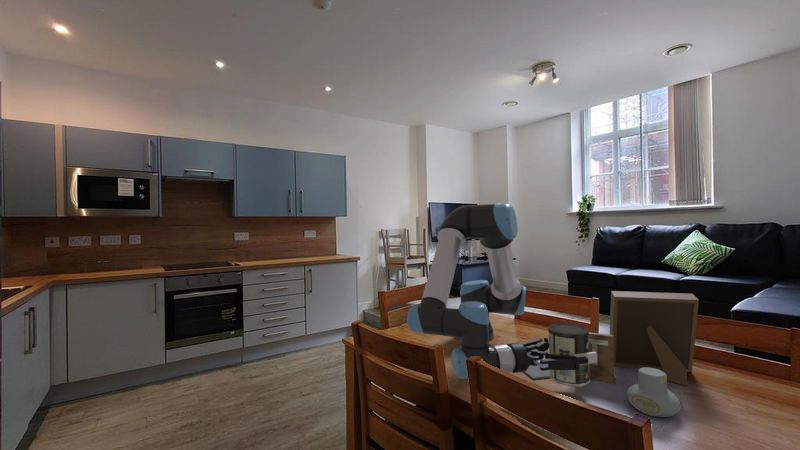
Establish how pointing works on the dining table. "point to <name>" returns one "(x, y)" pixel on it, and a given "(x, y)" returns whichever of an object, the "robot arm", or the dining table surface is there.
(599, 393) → the dining table surface
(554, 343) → the coffee can
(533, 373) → the grey mat
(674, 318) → the photo frame
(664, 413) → the air freshener
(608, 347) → the letter tile
